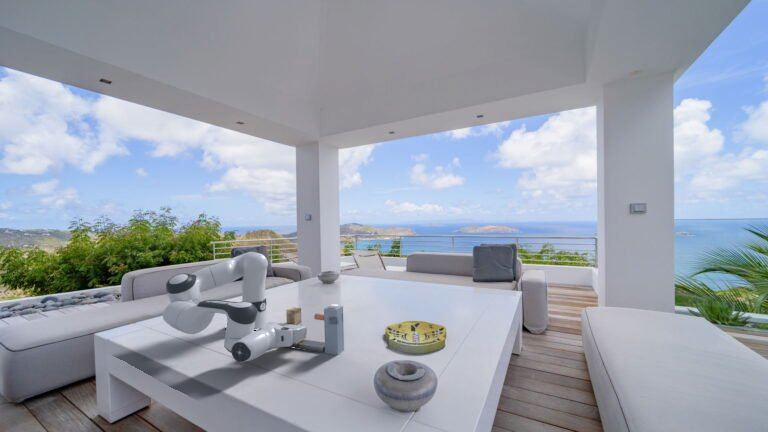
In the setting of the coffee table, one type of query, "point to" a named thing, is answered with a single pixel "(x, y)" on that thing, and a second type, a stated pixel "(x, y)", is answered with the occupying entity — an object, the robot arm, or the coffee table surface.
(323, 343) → the rail
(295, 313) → the beige post on base
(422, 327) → the yellow printed disc
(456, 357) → the coffee table surface
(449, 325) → the coffee table surface
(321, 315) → the reddish-brown cylinder
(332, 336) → the blue-grey post
